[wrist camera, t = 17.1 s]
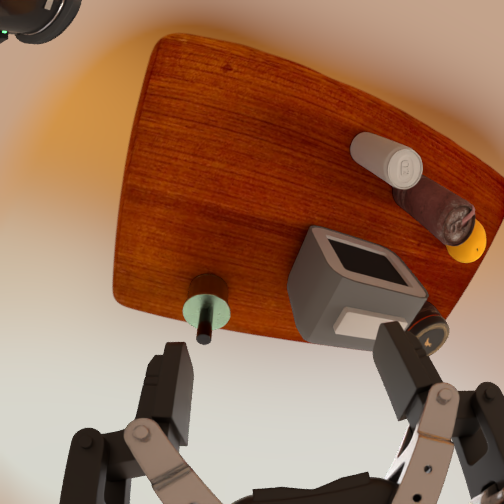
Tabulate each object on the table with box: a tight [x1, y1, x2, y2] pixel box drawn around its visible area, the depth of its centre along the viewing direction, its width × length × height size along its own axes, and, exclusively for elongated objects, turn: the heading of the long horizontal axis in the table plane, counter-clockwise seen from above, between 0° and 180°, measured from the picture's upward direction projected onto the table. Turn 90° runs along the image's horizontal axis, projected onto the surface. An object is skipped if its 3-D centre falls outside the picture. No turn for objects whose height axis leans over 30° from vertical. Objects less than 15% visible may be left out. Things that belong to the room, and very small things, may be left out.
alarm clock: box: [287, 225, 429, 351], centre depth 42 cm, size 16×11×16 cm
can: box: [393, 175, 475, 246], centre depth 36 cm, size 6×6×14 cm
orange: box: [446, 219, 486, 263], centre depth 43 cm, size 8×8×8 cm
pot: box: [187, 274, 228, 303], centre depth 47 cm, size 6×6×5 cm
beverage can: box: [350, 132, 423, 189], centre depth 34 cm, size 5×5×12 cm
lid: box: [183, 292, 230, 345], centre depth 42 cm, size 7×7×7 cm
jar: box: [406, 301, 449, 356], centre depth 52 cm, size 10×10×8 cm
